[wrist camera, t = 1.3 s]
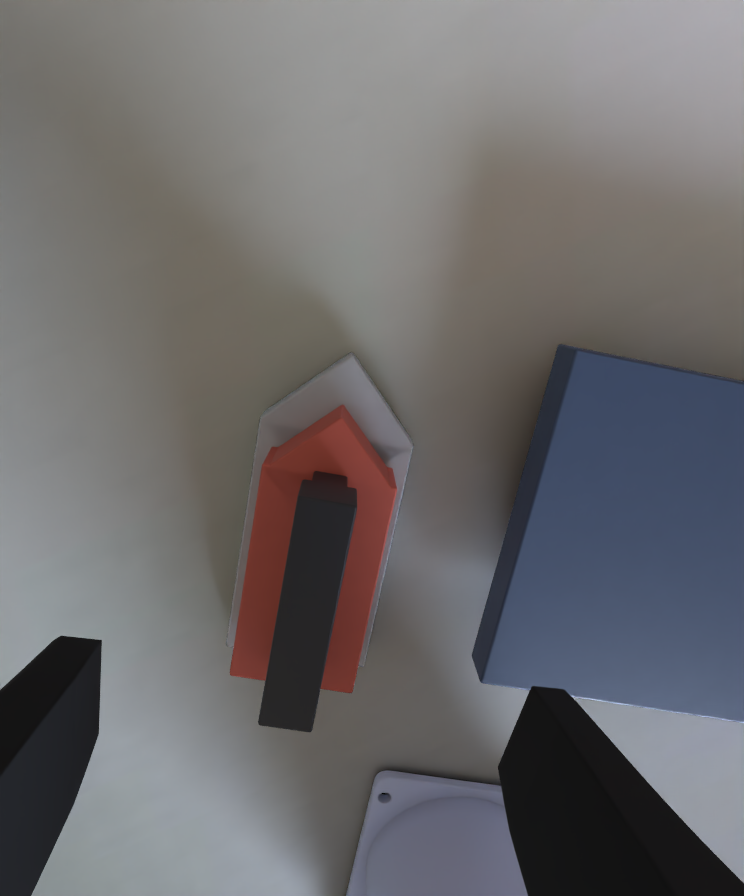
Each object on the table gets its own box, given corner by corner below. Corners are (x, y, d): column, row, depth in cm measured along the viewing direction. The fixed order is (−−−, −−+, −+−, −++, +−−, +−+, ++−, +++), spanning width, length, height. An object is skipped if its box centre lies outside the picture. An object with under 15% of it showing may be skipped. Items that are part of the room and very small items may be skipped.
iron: (363, 651, 22) (367, 771, 16) (230, 630, 21) (188, 746, 16) (427, 366, 19) (456, 397, 13) (275, 337, 18) (242, 356, 13)
